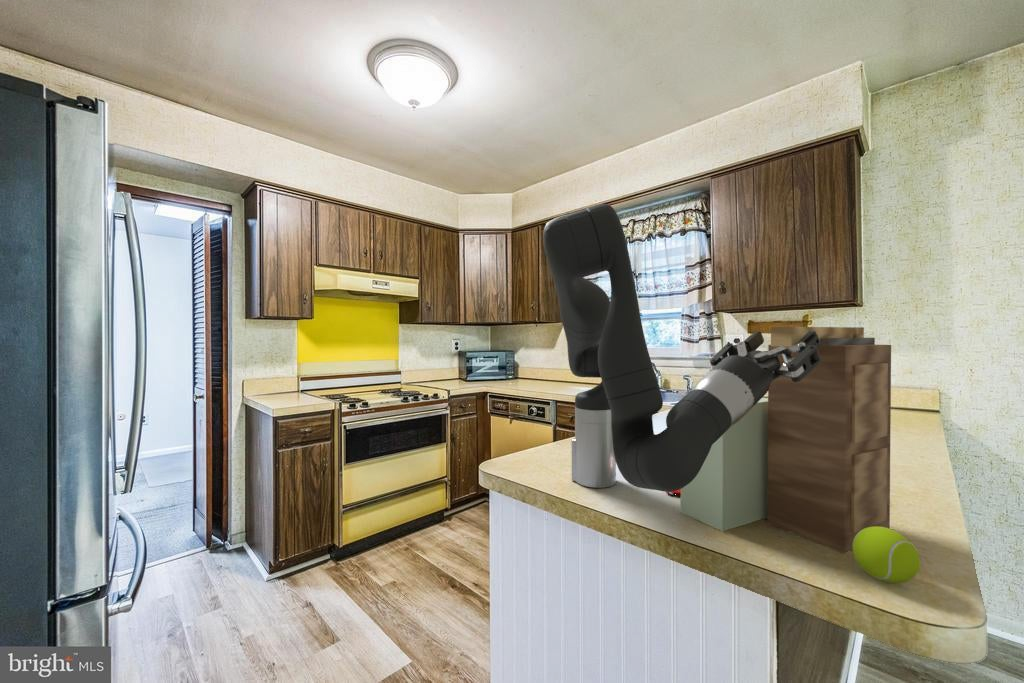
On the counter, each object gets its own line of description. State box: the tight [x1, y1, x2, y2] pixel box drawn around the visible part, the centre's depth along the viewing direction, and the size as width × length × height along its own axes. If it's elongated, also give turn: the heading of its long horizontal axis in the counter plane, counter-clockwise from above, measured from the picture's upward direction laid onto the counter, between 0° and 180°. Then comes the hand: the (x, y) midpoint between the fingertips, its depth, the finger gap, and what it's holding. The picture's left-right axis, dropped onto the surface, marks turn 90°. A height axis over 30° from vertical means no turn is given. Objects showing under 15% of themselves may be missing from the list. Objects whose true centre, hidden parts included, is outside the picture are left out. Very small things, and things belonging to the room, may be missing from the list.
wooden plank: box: [770, 326, 865, 347], centre depth 72 cm, size 24×4×3 cm, turn 121°
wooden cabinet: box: [767, 337, 892, 554], centre depth 74 cm, size 14×12×33 cm
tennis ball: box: [852, 526, 921, 584], centre depth 59 cm, size 7×7×7 cm
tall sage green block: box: [680, 397, 768, 532], centre depth 81 cm, size 16×9×22 cm, turn 116°
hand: (786, 336), depth 69 cm, fingers open, 8 cm apart
